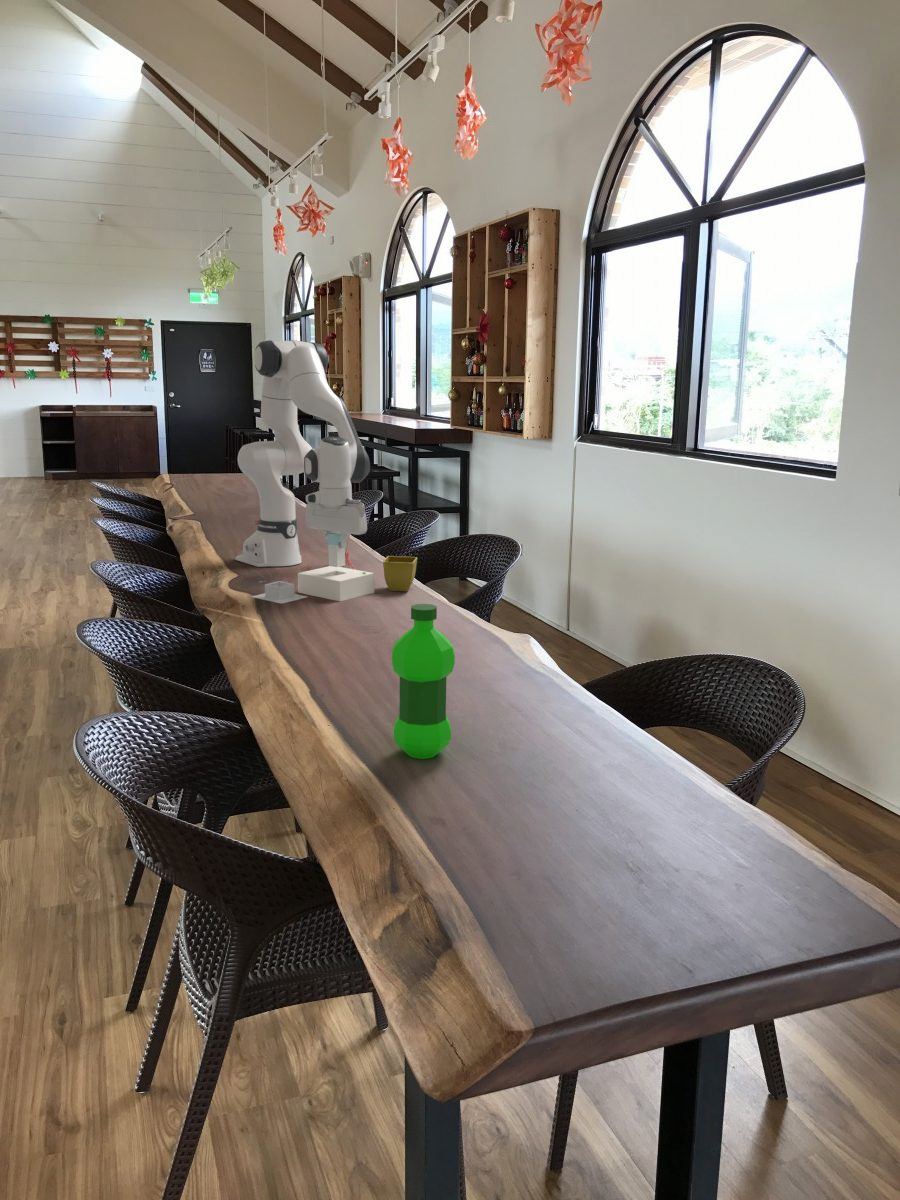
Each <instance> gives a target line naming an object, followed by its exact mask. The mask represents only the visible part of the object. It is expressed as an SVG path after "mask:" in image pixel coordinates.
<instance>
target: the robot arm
mask: <svg viewBox="0 0 900 1200" xmlns="http://www.w3.org/2000/svg"><path fill="white" fill-rule="evenodd" d="M253 363H254V368H255V370H256V371H257V372H258V374H259V375H260V376H263V380H262V388H261V398H260V399H261V401H260V403H261V405H260V420H261V422H262V423H263V424H264V425H265V427H266V428H268V429H270V430H272V432H273V434H274V440H265V441H264V440H263V441H254V442H251V443H247V444H243V445H242V446H241V448H240V449H239V451H238V454H237V465H238V467H239V469H240V471H241V472H242V474H244V475H245V476H247V477H248V478H249V479H250V480H251V481H252V483H253V484H254V487H255V488H256V490H257V493H258V498H259V509H260V519H258V520H254V522H255V523H254V525H257V527H256V531H254V532H253V533H252V534H251V535H250V536H249V537H247V539H246V540H244V542H243V544H242V553H241V554H238V555H236V556H235V558H234V559H235V561H239V562H241V563H243V564H248V565H251V566H254V567H257V568H258V567H259V568H260V567H261V568H262V567H264V568H265V567H288V566H295V565H296V566H297V565H299V564H301V563H302V562H303V560H302V555H301V553H300V545H299V538H298V537H299V536H298V534H297V531H298V520H297V517H296V516H297V515H296V497H295V494H294V493H293V492H292V491H291V490H290V489H288V488H286V487H284V486H283V484H282V481H281V476H294V475H295V476H296V475H300V474H302V473H304V475H305V476H306V477H307V478H308V479H309V480H310V481H312V482H314V483H319V486H318V491H315V492H311V493H308V494H306V495H305V501H306V503H307V504H306V506H305V525H306V526H307V528H308V529H314V530H321V531H322V536H323V537H324V539H325V543H326V544H325V546H326V547H328V534H330V533H335V532H336V533H340V532H341V536H343V537H342V540H341V542H339V548H341V549H345V550H346V548H347V549H348V546H347V541H348V542H349V540H348V539H350V537H351V535H356V536H357V535H358V536H360V535H363V534H364V535H365V534H366V533H367V531H368V521H367V514H366V510H365V508H366V507H365V505H364V503H363V502H361V500H360V499H353V497H352V496H353V493H352V492H353V490H352V489H353V488H352V483H357V484H359V483H361V482H362V481H364V479H366V478H367V476H368V475H369V473H370V471H371V461H370V458H369V454H368V453H367V451H366V449H365V448H364V446H363V444H362V442H361V440H360V438H359V434H358V432H357V430H356V428H355V425H354V422H353V421H352V417H351V415H350V412H349V410H348V409H347V406H346V404H345V402H344V401H343V399H342V398H341V397H339V396H337V394H335V392H334V391H333V390H332V388H331V387H330V386H329V384H328V380H327V377H326V376H327V375H326V371H327V370H328V363H329V359H328V352H327V350H326V348H325V347H324V346H323V345H322V344H320V343H317V342H313V341H311V342H308V341H307V342H305V341H303V340H301V341H300V340H295V339H294V340H293V339H292V340H270V339H269V340H263V341H260V342H259V343H258V344H257V345H256V347H255V349H254V354H253ZM298 410H300V411H302V412H303V413H305V414H308V415H310V416H311V415H312V416H314V417H318V418H320V419H323V420H324V421H327V422H328V423H330V424H332V425H333V426H334V428H335V430H336V431H337V434H338V436H326V437H323V438H321V440H320V442H319V445H318V446H316V447H315V448H313V447H312V446H311V445H310V443H308V442H307V441H306V439H304V437H303V436H302V434H301V432H300V431H301V430H300V428H299V423H298Z"/></svg>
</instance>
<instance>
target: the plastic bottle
mask: <svg viewBox="0 0 900 1200" xmlns="http://www.w3.org/2000/svg"><path fill="white" fill-rule="evenodd" d="M437 610H438V607H437V605H435V604H428V603H417V604H414V605H413V604H412V605H410V619H411V620H413V621H414V623H413V627H412V628H410V629H409V630H408V631H407V632H404V634H403V635H401V636H400V637H399V638H398V639H397V640H396V641H395V642H394V645H393V647H392V653H391V665H392V669H393V671H394V672H395V673H396V674H397V676H399V713H398V715H397V716H396V719H395V721H394V725H393V740H394V742H395V744H396V745H397V747H398V748H399V749H400V750H402V751H403V752H404V753H406V755H407V756H409V757H411V758H413V759H420V760H425V759H432V758H434V757H435V756H437V755H438V754H439V753H441V752H442V751H443V750H444V749H446V747H448V745H449V743H450V741H451V739H452V728H451V723H450V719H449V717H448V715H447V677H448V676H449V675H450V674H451V673H452V672H453V670H454V666H455V659H456V658H455V657H456V656H455V649H454V646H453V644H452V642H451V641H450V640H449V639H448V638H447V637H446V636H445V635H444V634H443V633H442V632H441V631H439V630H438V629H437V628H436V627H434V621H435V620H437V617H438V616H437V615H438V611H437Z"/></svg>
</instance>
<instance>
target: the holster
mask: <svg viewBox="0 0 900 1200" xmlns="http://www.w3.org/2000/svg"><path fill="white" fill-rule="evenodd" d="M250 597H251V598H255V599H260V600H264V601H268V602H273V603H277V604H285V603H290V602H294V601H299V600H301V599H306V598H308V596H307V595H302V594H297V593H295V584H294V583H290V582H286V581H274V582H270V583H266V584H264V593H260V594H257V595H252V596H250Z"/></svg>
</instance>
